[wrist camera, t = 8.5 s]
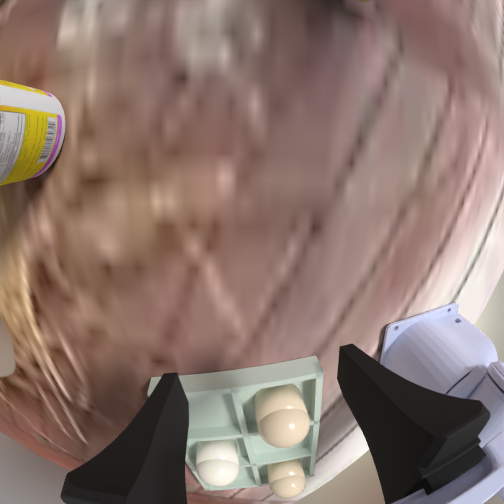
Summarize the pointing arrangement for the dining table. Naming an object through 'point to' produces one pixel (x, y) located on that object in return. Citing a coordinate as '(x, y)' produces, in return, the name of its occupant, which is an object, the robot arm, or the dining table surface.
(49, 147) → the supplement bottle
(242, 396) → the egg tray
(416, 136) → the dining table surface
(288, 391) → the tan egg
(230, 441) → the cream egg
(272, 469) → the tan egg
